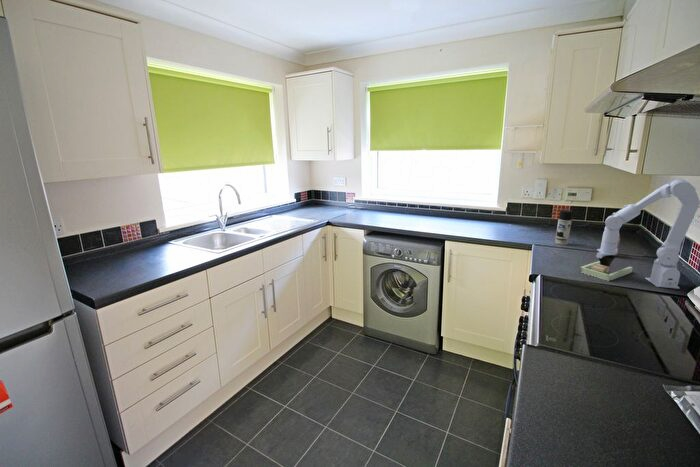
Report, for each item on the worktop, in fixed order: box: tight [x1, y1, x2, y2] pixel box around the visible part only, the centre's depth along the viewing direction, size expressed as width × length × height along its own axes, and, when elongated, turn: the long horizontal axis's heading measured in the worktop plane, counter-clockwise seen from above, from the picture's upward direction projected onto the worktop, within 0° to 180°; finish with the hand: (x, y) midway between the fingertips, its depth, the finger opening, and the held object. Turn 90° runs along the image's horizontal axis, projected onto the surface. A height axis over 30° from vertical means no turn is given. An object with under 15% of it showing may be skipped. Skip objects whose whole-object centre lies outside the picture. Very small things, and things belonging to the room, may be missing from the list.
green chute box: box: [578, 260, 634, 282], centre depth 160 cm, size 21×12×2 cm, turn 120°
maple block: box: [591, 264, 610, 274], centre depth 157 cm, size 5×5×4 cm
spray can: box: [554, 209, 574, 246], centre depth 202 cm, size 7×7×20 cm
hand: (603, 270), depth 159 cm, fingers closed
